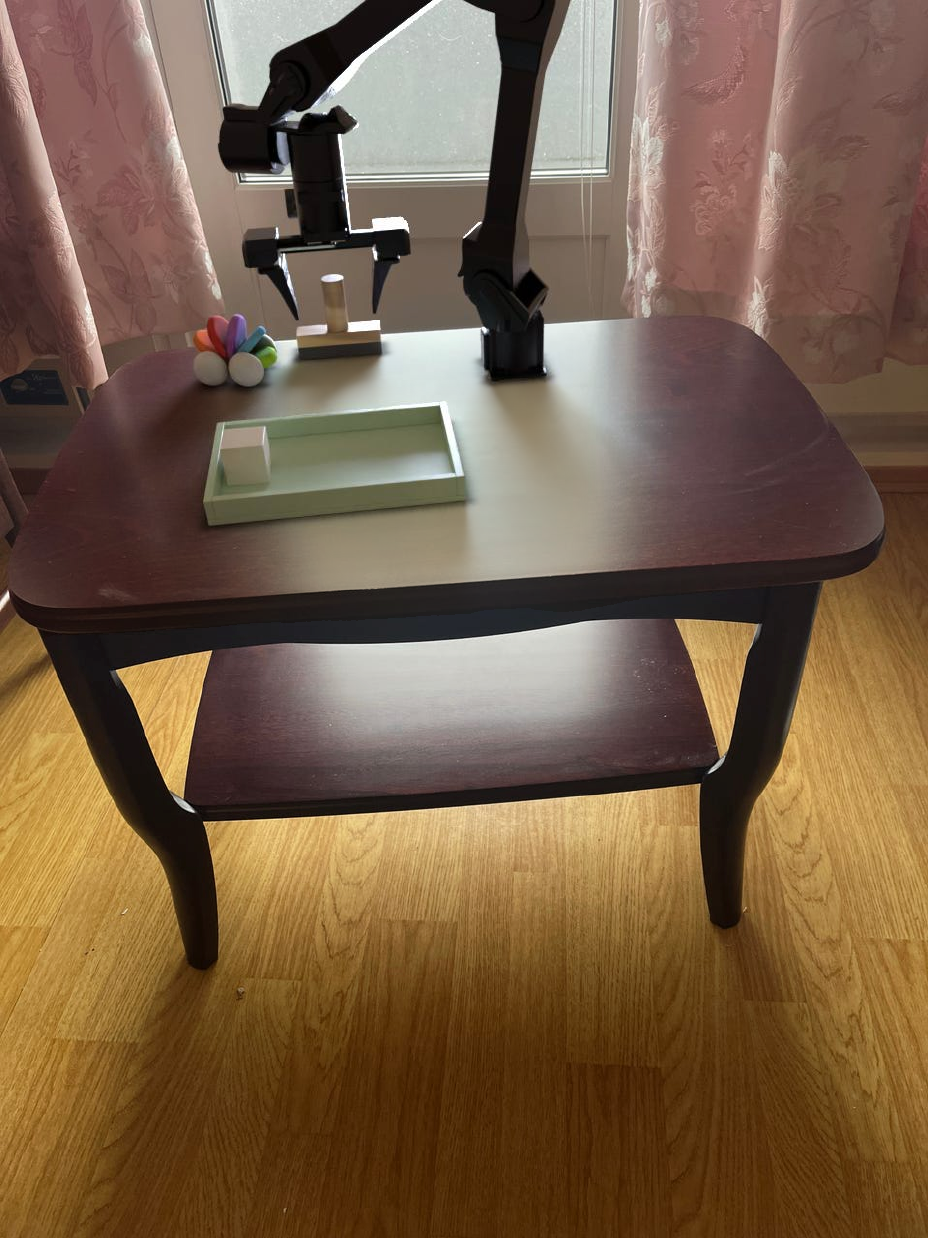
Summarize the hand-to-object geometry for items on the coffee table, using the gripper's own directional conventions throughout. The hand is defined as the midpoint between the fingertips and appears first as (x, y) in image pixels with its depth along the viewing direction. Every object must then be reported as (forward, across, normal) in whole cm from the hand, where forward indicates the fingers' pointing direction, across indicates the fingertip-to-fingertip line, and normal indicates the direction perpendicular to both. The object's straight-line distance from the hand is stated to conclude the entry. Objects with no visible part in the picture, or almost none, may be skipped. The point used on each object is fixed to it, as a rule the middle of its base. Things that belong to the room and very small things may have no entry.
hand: (336, 315), depth 113 cm
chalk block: (+4, +9, +30) cm, 31 cm away
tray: (+4, +1, +30) cm, 30 cm away
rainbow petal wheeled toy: (+5, +12, +4) cm, 14 cm away
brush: (+4, 0, 0) cm, 4 cm away
